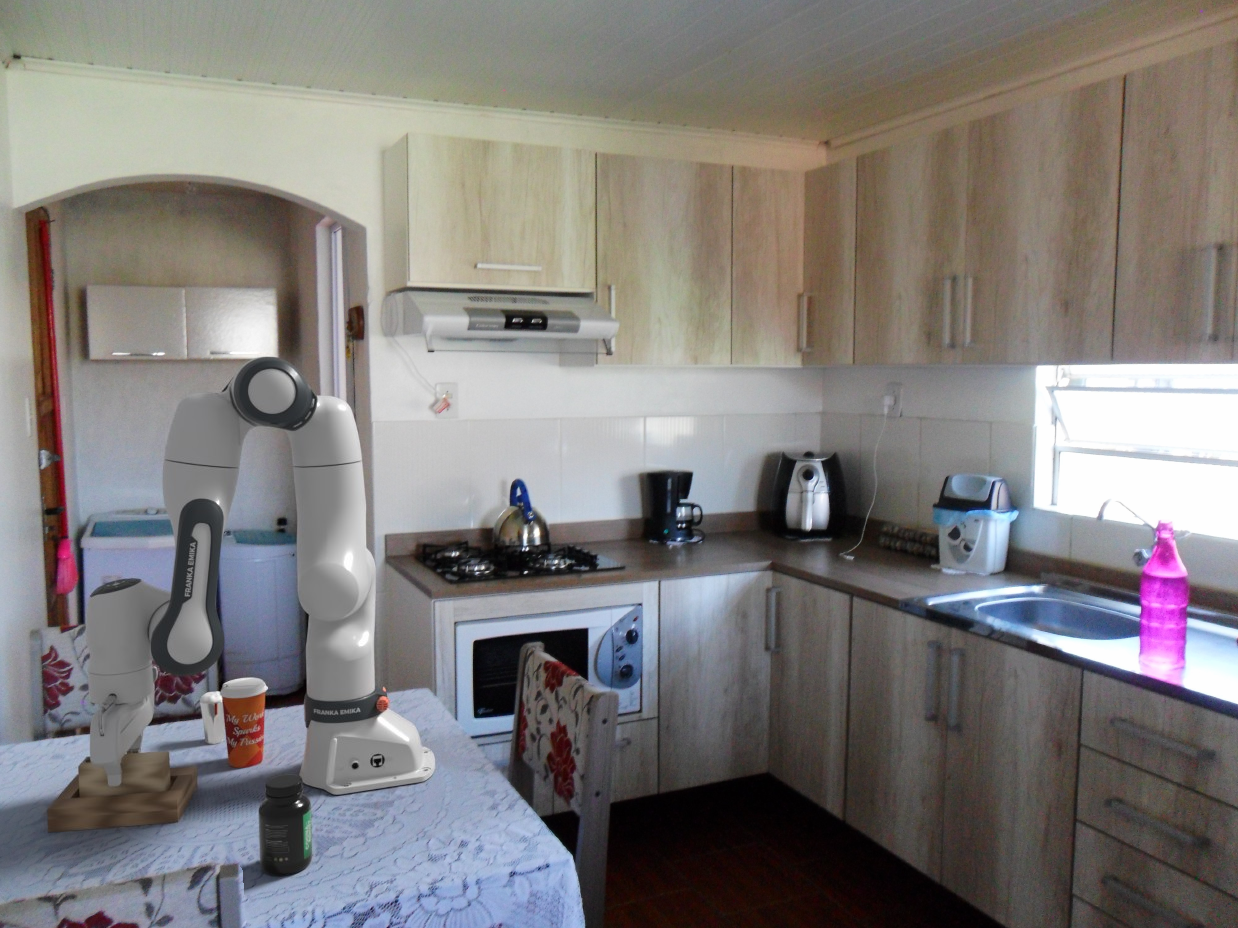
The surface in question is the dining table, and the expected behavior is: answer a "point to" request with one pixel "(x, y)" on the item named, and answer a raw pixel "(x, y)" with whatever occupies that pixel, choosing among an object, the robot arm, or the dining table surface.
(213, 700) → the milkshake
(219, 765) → the dining table surface
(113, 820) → the frame
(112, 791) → the door
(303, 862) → the supplement bottle
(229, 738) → the paper cup
